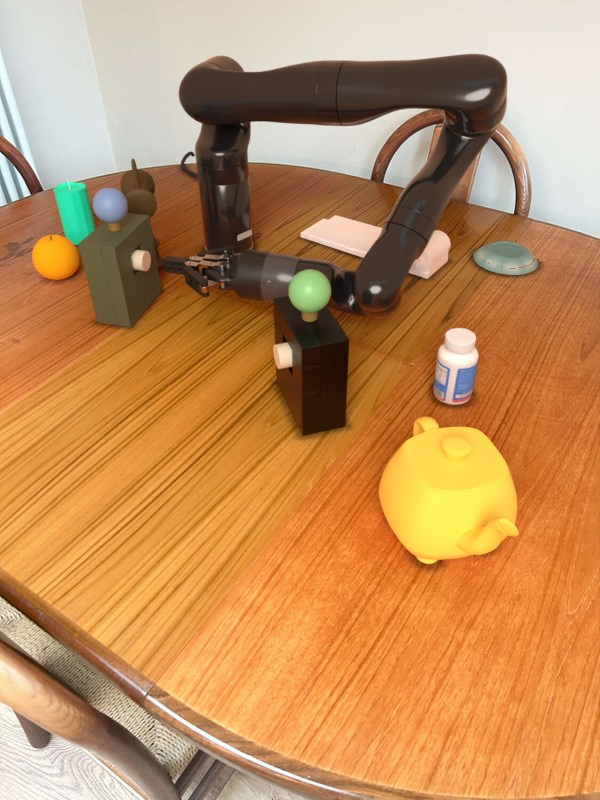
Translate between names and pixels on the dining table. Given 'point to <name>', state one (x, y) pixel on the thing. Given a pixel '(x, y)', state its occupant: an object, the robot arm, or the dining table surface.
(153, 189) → the kendama
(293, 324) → the dark block with knob
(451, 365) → the pill bottle
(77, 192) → the candle
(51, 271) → the orange fruit
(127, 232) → the olive block with peg
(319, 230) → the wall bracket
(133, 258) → the peach round puck
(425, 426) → the teapot
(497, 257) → the saucer
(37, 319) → the dining table surface
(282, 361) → the stubby beige cylinder
